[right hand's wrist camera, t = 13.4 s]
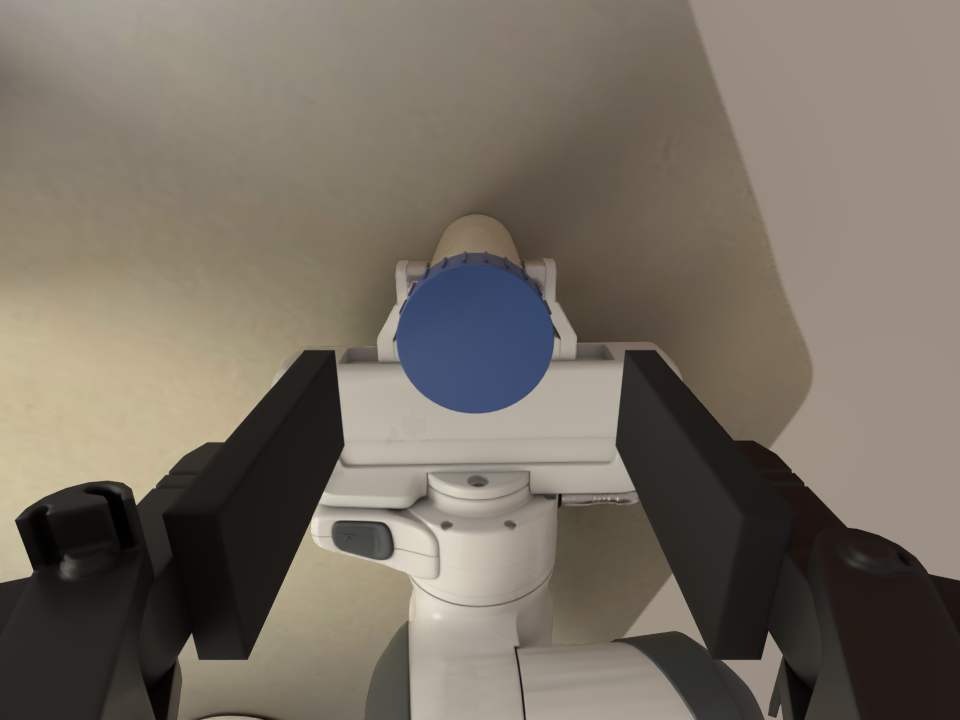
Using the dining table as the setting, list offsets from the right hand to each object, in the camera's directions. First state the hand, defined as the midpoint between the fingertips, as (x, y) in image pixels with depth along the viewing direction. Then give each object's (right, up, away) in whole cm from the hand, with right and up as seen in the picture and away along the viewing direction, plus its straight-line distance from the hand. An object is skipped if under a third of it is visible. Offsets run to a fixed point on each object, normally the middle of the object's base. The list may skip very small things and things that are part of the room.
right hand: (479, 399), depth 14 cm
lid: (0, +2, +4) cm, 4 cm away
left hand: (0, +6, +12) cm, 13 cm away
